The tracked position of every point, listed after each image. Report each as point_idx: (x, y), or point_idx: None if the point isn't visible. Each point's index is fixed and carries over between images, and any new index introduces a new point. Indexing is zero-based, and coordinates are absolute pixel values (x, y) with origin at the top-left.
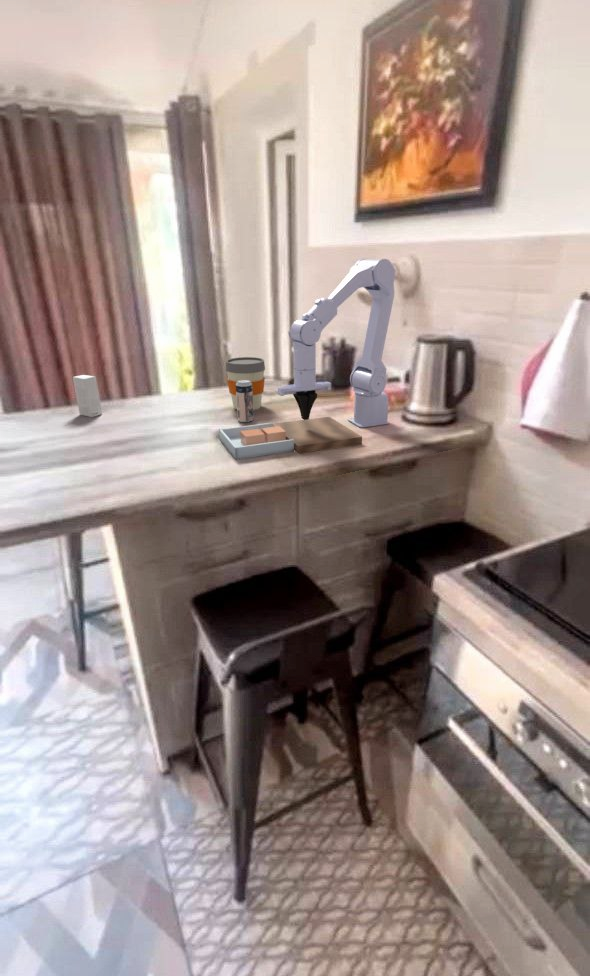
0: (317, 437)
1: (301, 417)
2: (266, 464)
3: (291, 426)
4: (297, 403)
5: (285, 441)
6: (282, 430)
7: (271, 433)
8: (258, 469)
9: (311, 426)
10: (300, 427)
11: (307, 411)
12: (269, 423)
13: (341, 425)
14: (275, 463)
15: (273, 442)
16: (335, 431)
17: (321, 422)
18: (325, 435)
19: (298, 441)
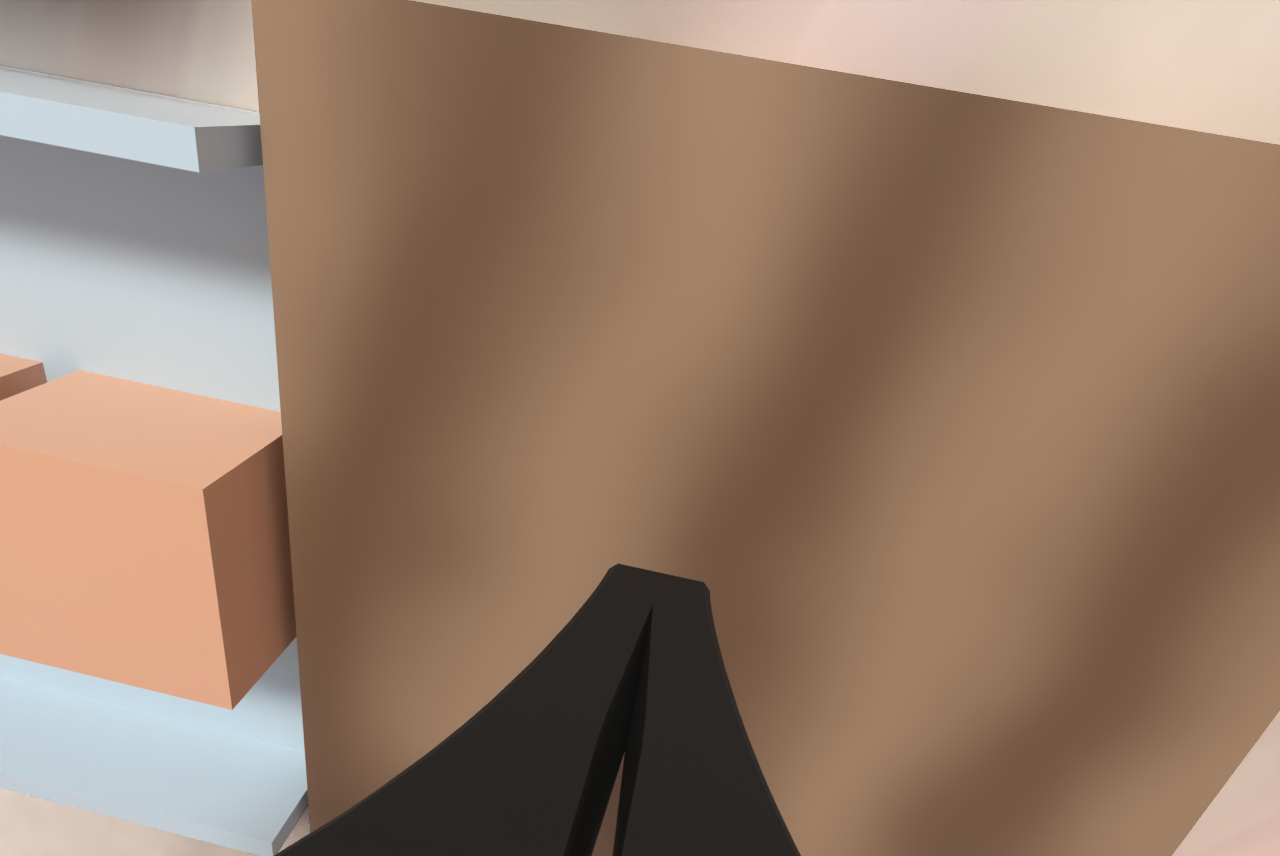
0: (602, 838)
1: (606, 574)
2: (69, 811)
3: (523, 342)
4: (424, 760)
5: (187, 832)
6: (200, 663)
7: (48, 662)
8: (7, 835)
9: (805, 519)
10: (628, 461)
11: (614, 846)
12: (126, 152)
13: (1224, 732)
14: (134, 832)
15: (62, 799)
16: (926, 832)
17: (1111, 449)
18: None
19: None
